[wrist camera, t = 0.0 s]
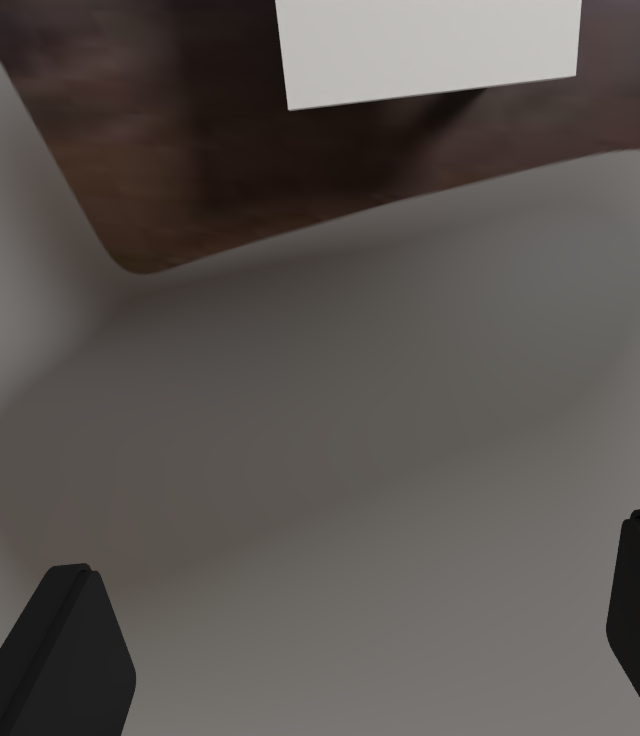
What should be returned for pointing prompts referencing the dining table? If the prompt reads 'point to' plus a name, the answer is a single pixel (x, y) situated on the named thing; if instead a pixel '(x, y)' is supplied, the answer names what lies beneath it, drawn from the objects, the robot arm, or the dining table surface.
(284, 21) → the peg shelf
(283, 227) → the dining table surface
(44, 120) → the dining table surface
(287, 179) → the dining table surface
